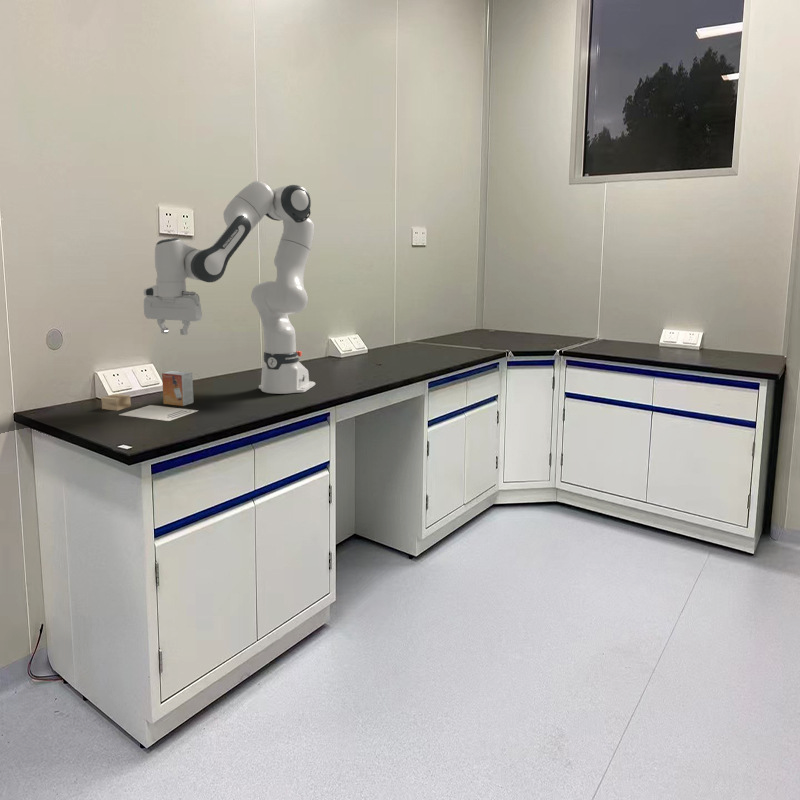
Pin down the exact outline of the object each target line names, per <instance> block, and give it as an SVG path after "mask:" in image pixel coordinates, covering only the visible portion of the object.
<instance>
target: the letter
mask: <svg viewBox="0 0 800 800" xmlns="http://www.w3.org/2000/svg"><path fill="white" fill-rule="evenodd" d="M198 411H199V410H196V409H188V408H180V407H178V408H177V407H169V406H162V405H154V404H149V405H147V406H142V407H140V408H136V409H132V410H130V411H126V412H123V413H119V414H118V416H126V417H133V418H135V417H136V418H140V419H151V420H159V421H166V422H170V421H173V420H176V419H179V418H181V417H185V416H188V415H190V414H193V413H196V412H198Z"/></svg>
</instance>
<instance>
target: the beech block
mask: <svg viewBox="0 0 800 800" xmlns="http://www.w3.org/2000/svg"><path fill="white" fill-rule="evenodd" d="M100 400H101V410H108V411H120V410H124V409H127V408H131V407H132V403H131V402H132V401H131V395H127V394H118V393H114V394H111V395H107V396H102V397H101V399H100Z"/></svg>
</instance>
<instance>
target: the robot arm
mask: <svg viewBox="0 0 800 800" xmlns="http://www.w3.org/2000/svg"><path fill="white" fill-rule="evenodd" d="M311 200H312V199H311V196H310V193H309V191H308V190H307V188H305V187H303V186H301V185H297V184H291V185H290V184H289V185H284V186H280V187H278V188H274V189H272V188H271V187H270V186H269V185H268V184H267V183H265V182H263V181H261V180H255V181H252V182H251V183H249V184H248V185H246V186H245V187H244V188H243V189H241V190H240V191H239V192H238V193H236V195H235V196H234V197H233V198H232V199H231V201H229V202H228V204H227V206H225V209H224V211H223V220H224V222H225V225H226V228H225V229H224V231H223V233H221V235H220V236H219V237H218V239H217V240H216V241H215V242H214V244H213V245H211V246H210V247H208V248H204V249H197V248H195V247H192V246H191V245H189V244H187V243H185V242H184V241H183V240H182V239H180V238H176V237H173V238H165V239H161V240H159V241H158V242H157V243H156V244H155V247H154V268H155V270H156V278H155V282H156V284H155V285H152V286H150V287H147V288H144V289H143V295H144V299H143V314H144V316H145V318H146V319H148V320H150V319H151V320H156V322H157V325H158V326H159V328H160V333H161V334H163V335H164V334H166V335H167V334H169V327H167V326H166V324H165V323H166V321H181V322H182V325H183V326H182V328H180V329H179V332H180V335H181V336H187V335H188V333H189V332H188V330H189V329H188V328H189V327H190V325H191V322H199V321H201V320H202V318H203V313H202V312H203V311H202V307H201V302H200V301H201V300H200V295H199V294H198V293H196V291H187V285H186V283H187V282H186V280H187V278H188V279H191V280H196V281H201V282H205V283H215V282H217V281H219V280H220V279H221V278H222V277H223V276H224V273H225V272H226V268H227V266H228V262H229V261H230V259H231V258H232V256H233V255H234V253H235V252H236V251H237V250H238V248H239V247H240V246H241V245H242V244H243V242H244V241H245V239H246V238H247V236H248V235H249V234H250V233H251V231H252V230H253V229H254V228H255V227H256V226H257V225H258V224H259V223H260V222H261V221H262V219H263V218H264V217H265V216H266V217H267V218H268V219H271V220H273V221H278V222H280V221H282V225H283V229H282V230H283V232H282V234H281V237H280V241H279V243H278V246H277V250H276V253H275V256H274V259H273V260H274V261H273V264H274V266H275V267H276V279H275V281H272V280H271V281H267V280H266V281H262V282H260V283H258V284H256V285H255V286H254V287H253V288H252V291H251V295H250V296H251V298H250V299H251V301H252V304H253V305H254V306H255V307H256V309H257V311H258V315H259V317H260V321H261V324H262V328H263V336H264V337H263V338H264V340H263V341H264V351H263V362H264V364H263V365H262V367H261V379H260V380H261V381H260V384H258V389H259V390H261V392H263V393H265V394H280V395H281V394H284V395H287V394H295V393H299V394H300V393H305V392H307V391H308V390H310V389H311V388H313V387H315V385H316V382H315V381H311V380H310V377H309V376H310V374H309V369H307V368H306V367H305V366H304V365H303V364H302V363H301V362H300V357H302V355H303V351H301V350H299V351H298V350H297V346H296V345H297V344H296V343H297V341H296V340H297V339H296V337H297V336H296V329H295V327H294V326H293V325H292V322H291V320H290V319H289V315H295V314H299V313H301V312H303V311H304V310H305V309H306V307H307V306H308V302H309V301H308V300H309V297H308V293H307V291H306V288H305V284H304V283H305V282H304V281H305V280H304V279H305V269H306V266H307V263H308V259H309V256H310V252H311V249H312V245H313V241H314V235H315V224H314V222H313V221H312V220H311V219H310V216H311V204H312V201H311Z"/></svg>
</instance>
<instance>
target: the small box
mask: <svg viewBox="0 0 800 800" xmlns="http://www.w3.org/2000/svg"><path fill="white" fill-rule="evenodd" d="M161 376H162V377H161V380H162V381H161V382H162V397H163V398H162V399H163V405H172V406H180V407H184V406H188V405H191V404H194V401H195V400H194V387H193V386H194V384H193V383H194V382H193V372H192V371H190V372H189V371H177V370H169V371H166V372H162V374H161Z"/></svg>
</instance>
